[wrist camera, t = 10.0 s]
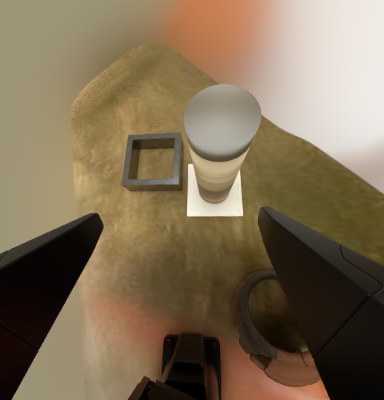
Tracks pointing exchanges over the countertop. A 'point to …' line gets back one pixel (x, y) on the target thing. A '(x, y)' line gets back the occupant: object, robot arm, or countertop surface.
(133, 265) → the countertop surface
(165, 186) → the metal holder
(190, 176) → the off-white pad
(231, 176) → the beige cylinder grey cap
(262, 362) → the pottery mug
